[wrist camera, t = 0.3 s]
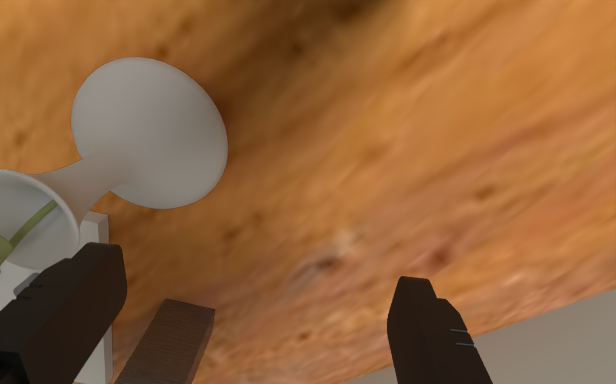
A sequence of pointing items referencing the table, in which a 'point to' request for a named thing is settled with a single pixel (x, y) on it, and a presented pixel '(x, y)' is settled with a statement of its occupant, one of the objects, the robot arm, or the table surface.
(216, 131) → the flower in vase
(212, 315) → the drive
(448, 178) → the table surface
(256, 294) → the table surface
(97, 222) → the tray
